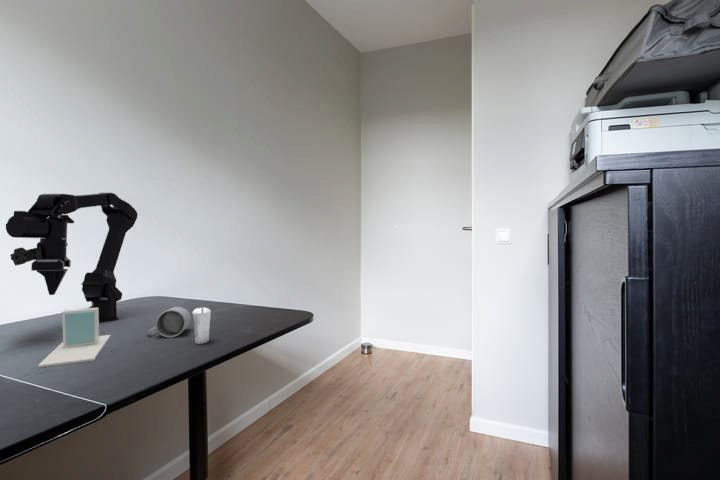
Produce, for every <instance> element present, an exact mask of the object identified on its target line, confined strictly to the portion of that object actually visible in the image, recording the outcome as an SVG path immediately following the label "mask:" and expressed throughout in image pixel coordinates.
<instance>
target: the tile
mask: <svg viewBox="0 0 720 480" xmlns="http://www.w3.org/2000/svg"><path fill="white" fill-rule="evenodd" d="M61 314H62V342H63V348H66V347H75V346H84V345H93V344H98V343H99V336H100V322H99V308H90V307H89V308H88V307H87V308H75V309H64V310H63V311H62V313H61Z"/></svg>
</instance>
